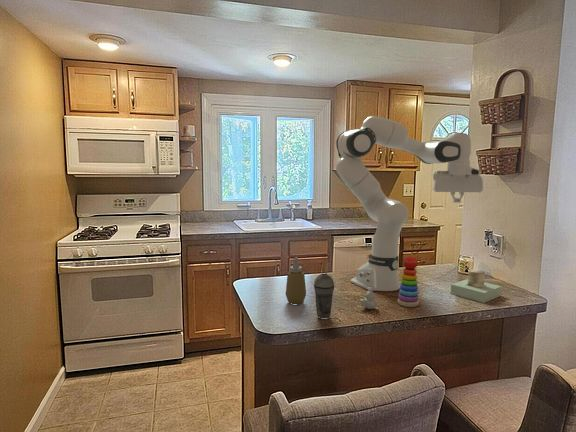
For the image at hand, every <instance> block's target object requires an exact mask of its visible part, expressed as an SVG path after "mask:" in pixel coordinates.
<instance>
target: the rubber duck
mask: <svg viewBox="0 0 576 432" xmlns="http://www.w3.org/2000/svg"><path fill="white" fill-rule="evenodd" d="M375 298H376V294H374V292H373V291H371V290H367V291H366V293H365V298H361V299H360V306H361V307H364V308H365V309H368V310H374V309H376V308H377V305H378V301H377V300H376V299H375Z"/></svg>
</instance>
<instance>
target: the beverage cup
mask: <svg viewBox="0 0 576 432" xmlns="http://www.w3.org/2000/svg"><path fill="white" fill-rule="evenodd" d="M329 263H330V262H329V261H327V262H326V269H325V273H321V274H319V275H317V276H316V278H315V280H314V283H313V288H314V293H315V308H316V316H318V317H320V318H329V317H330V318H331V313H332V305H333V303H332V302H333V297H334V289H335V281H334V279H333V277H332V276H331V275H330V274H328V272H329V271H328V269H329ZM330 318H329V319H330Z"/></svg>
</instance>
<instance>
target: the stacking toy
mask: <svg viewBox="0 0 576 432" xmlns="http://www.w3.org/2000/svg"><path fill="white" fill-rule="evenodd" d="M403 266H404V268H403V270H402V272H403V273H402V274H401V277H402V278H401V280H400V289H399V293H398V294H397V297H398V299H397V304H398V305H400V306H402V307H405V308H415V307H417V306H419V304H420V301H419V291H418V288H419V286H418V282H419V281H418V280H417V279H418V277H417V273H418V271H417V269H416V268H417V266H418V260H417V258H415V257H414V256H406V257H405V258H404V260H403Z"/></svg>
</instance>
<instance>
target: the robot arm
mask: <svg viewBox="0 0 576 432" xmlns="http://www.w3.org/2000/svg"><path fill="white" fill-rule="evenodd" d="M407 129H408V128H407V127H406V126H405V125H403V124H402V123H399V122H398V121H395V120H392V119H389V118H385V117H381V116H376V115H375V116H374V115H371V116H367V118H366V119H365V120H363V122H362V124H361V127H360V128H358V129H349V130H345V131H343V132H341V133H340V134H339V135H338V137H337V138H336V141H335V142H336V143H335V144H336V149H337V153H338V155H337V156H338V158H340V159H339V160H338V162H337V163H336V165H335V169H336V172H337V175H338V176H339V177H340V179H341V181H342V182H343V184H344V185H345V186H346V187H347V188H348V190H349V191H350V192H351V193H352V194H353V195H354V196H355V197H356V198H357V199H358V201H359V202H360V204H361V205H362V207H363V208H364V210H365V212H366V214H367V215H368V217H369V218H370V219H371V220H372V221H375V222H377V226H376V230H375V233H374V234H373V235H372V237H371V238H372V239H371V253H370V254H369V255H368V254H367V255H366V259H368V261H367V262H366V263H364V264H363V265H361V266H360V267H358V268H357V270H356V274H355V277H352V278H351V279H350V283H352V284H354V285H357V286H358V287H361V288H363V289H366V290H367V291H368V290H371V291H372V292H373V291H374V292H375V291H379V292H394V291H398V290H400V289H401V287H400V285H401V283H400V279H399V270H398V269H399V261H400V257H399V239H400V235H401V231H402V228H403V226H404V224H405V223H407V220H408V218H409V216H410V215H409V209H408V207H407V206H406V205H405V204H404V203H402V202H401V201H399V200H396V199H391V198H389V197H388V196H386V195H385V193H384V191H383V190H382V188H381V184H380V182H379V181H378V180H377V179H376V177H375V176H374V175H373V174H372V172H370V170H369V169H368V167H366V166H365V165H364V163H363V162H362V157H365V156H366V155H367V154H369V153H370V152H371V150H372V149H373V147H374V145H375V144H376V145H379V146H381V147H384V148H387V149H392V150H393V149H394V150H401V151H403V152H406V153H408V154H411V155H413V156H415V157H416V158H417V159H419V161H420V162H422V163H424V164H427V165H431V164H445V163H447V170H437V171H435V172H434V174H433V176H432V178H433V187H432V190H433V192H435V193H450V194H449V195H450V196H451V198H452V203H457V204H458V203H461V201H462V198H463V196H464V195H465V193H482V192H483V191H484V182H483V181H484V180H483V177H482V176H481V175H482V170H480V169H477V168H474V167H471V162H470V161H471V160H470V158H471V157H470V156H471V154H472V153H471V152H472V141H471V136H470V135H469V134H467V133H464V132H452V133H451V134H450V135H449V136H447V137H446V138H442V139H441V140H435V141H423V142H422V141H420V140H417V139H414V138H412V137H410V136H408V134H409V133H408V130H407ZM456 193H459V194H458V198H457V197H455V195H456Z"/></svg>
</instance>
